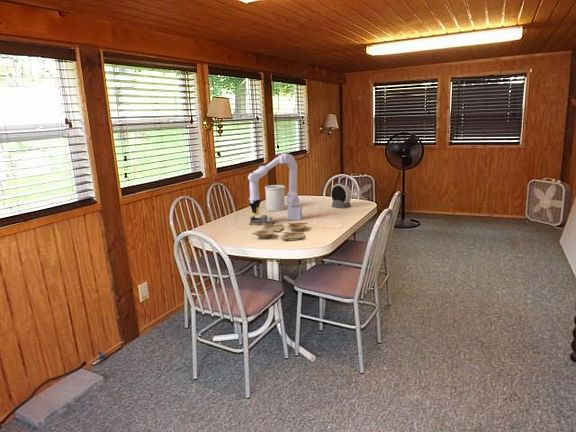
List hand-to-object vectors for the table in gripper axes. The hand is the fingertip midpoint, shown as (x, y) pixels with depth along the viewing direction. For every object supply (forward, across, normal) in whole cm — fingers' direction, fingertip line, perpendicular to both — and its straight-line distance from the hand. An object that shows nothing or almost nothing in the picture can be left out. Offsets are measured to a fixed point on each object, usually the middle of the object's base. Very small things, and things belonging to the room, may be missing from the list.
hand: (255, 212), depth 274 cm
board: (+8, 0, +4) cm, 9 cm away
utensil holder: (+8, -44, +2) cm, 45 cm away
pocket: (+8, 0, 0) cm, 8 cm away
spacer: (+2, 0, 0) cm, 2 cm away
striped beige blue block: (+6, 0, +7) cm, 10 cm away
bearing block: (+8, 0, +5) cm, 9 cm away
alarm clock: (+8, -54, +50) cm, 74 cm away
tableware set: (+8, +23, +23) cm, 33 cm away
